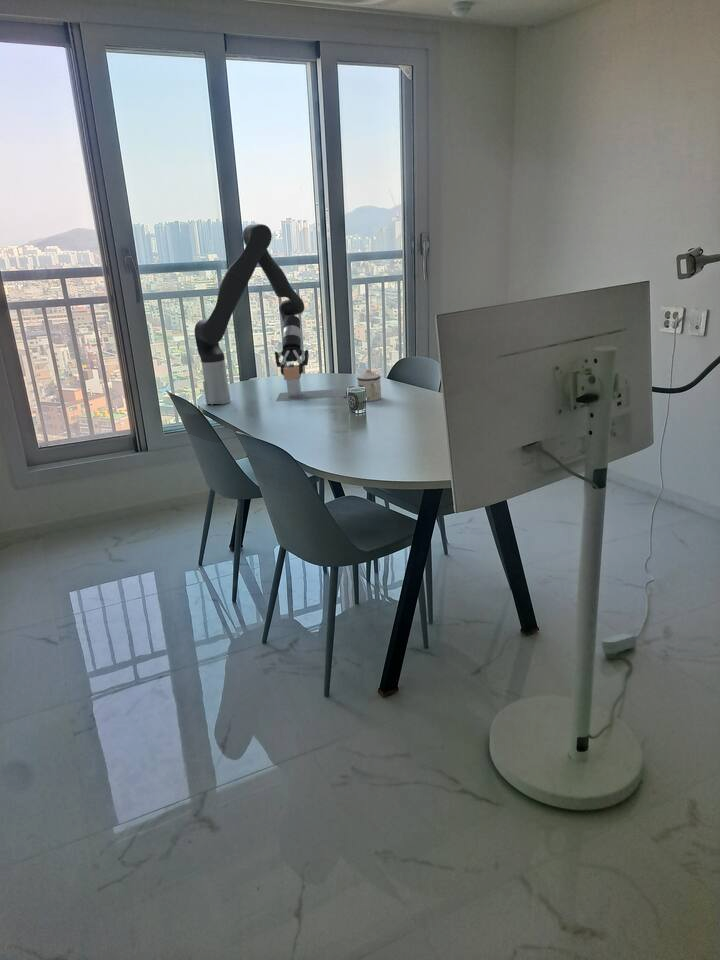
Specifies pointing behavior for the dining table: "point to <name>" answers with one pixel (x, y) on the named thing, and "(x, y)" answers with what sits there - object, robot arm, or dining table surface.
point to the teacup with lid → (370, 384)
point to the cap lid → (291, 372)
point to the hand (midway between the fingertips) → (291, 373)
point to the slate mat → (314, 394)
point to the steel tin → (294, 388)
